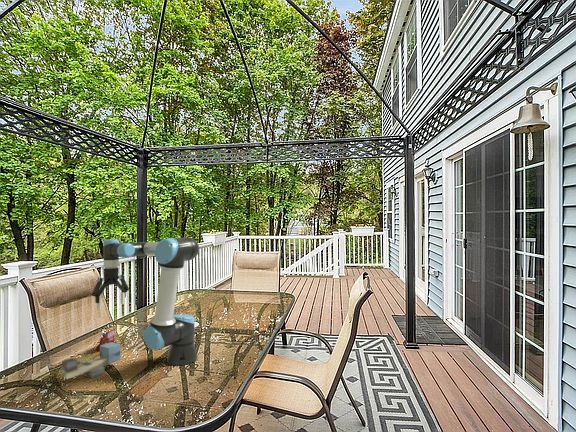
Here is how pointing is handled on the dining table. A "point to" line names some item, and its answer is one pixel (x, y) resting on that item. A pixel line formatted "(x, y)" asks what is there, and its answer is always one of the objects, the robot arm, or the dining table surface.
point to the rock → (88, 358)
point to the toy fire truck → (106, 339)
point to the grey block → (110, 352)
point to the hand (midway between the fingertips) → (111, 306)
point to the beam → (84, 367)
